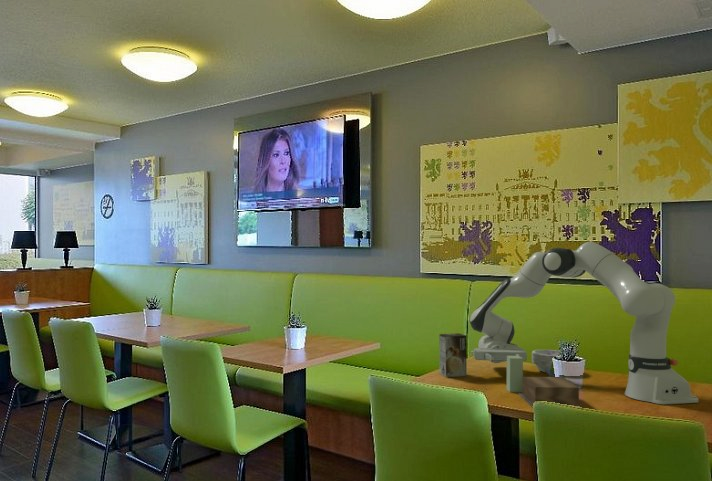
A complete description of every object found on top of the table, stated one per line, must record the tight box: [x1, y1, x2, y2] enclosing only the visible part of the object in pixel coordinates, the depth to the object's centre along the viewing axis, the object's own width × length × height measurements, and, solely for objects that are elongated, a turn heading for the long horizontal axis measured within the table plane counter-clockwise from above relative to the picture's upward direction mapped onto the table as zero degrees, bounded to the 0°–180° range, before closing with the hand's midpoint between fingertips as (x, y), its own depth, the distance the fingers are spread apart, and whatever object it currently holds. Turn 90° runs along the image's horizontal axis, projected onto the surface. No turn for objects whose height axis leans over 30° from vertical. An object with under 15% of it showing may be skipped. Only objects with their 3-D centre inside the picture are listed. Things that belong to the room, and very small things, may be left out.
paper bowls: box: [531, 349, 560, 374], centre depth 233 cm, size 15×15×8 cm
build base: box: [518, 376, 583, 407], centre depth 188 cm, size 16×16×6 cm
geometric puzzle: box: [544, 363, 555, 377], centre depth 216 cm, size 7×7×8 cm
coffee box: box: [438, 332, 468, 378], centre depth 224 cm, size 9×6×16 cm
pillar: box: [505, 356, 524, 393], centre depth 201 cm, size 4×4×12 cm
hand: (504, 358), depth 214 cm, fingers open, 8 cm apart
